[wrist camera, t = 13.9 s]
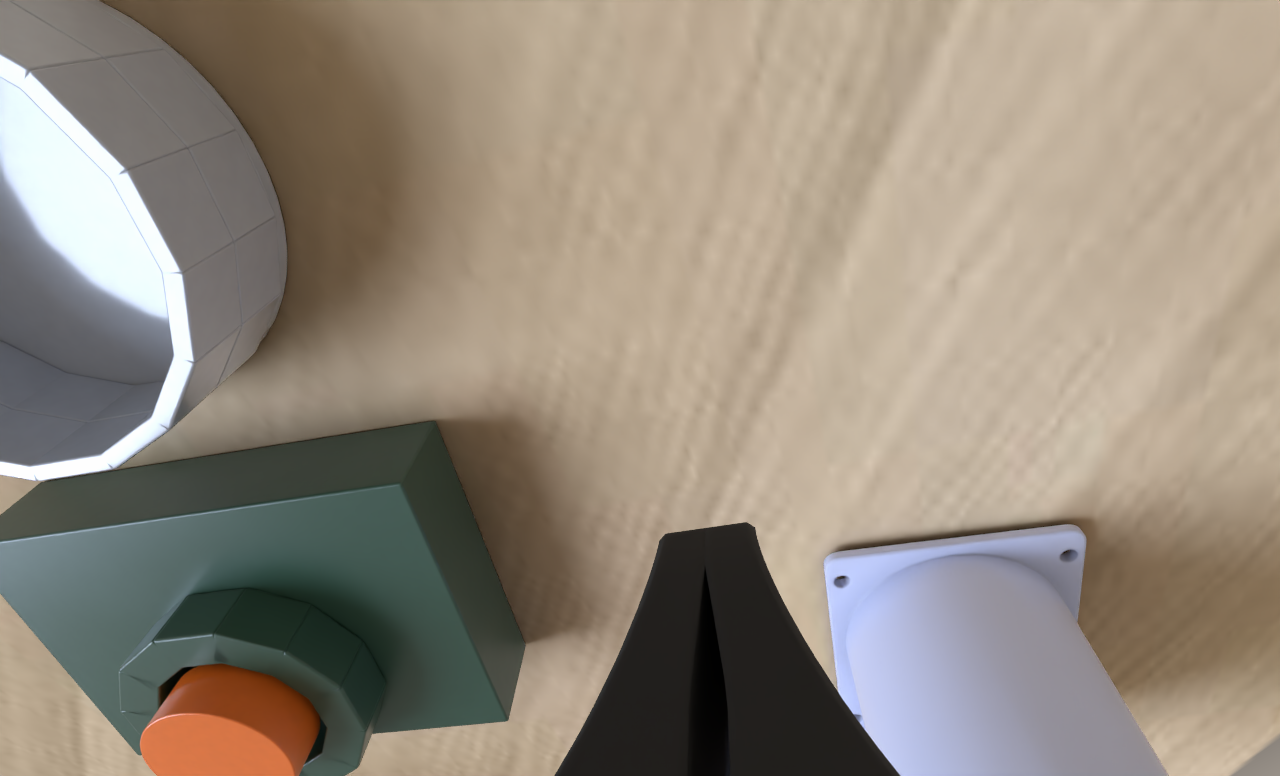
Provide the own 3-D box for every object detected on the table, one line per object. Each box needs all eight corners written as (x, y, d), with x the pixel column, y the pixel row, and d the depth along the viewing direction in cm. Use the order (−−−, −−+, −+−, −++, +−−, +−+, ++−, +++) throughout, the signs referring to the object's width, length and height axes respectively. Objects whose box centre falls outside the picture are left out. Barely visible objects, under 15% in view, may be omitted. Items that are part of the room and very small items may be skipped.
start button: (148, 668, 22) (108, 721, 20) (283, 653, 21) (252, 706, 20) (218, 760, 24) (187, 813, 22) (343, 749, 23) (319, 803, 22)
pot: (351, 356, 22) (276, 445, 18) (28, 412, 23) (-109, 505, 19) (156, -79, 16) (-13, -94, 12) (-244, 32, 18) (-509, 50, 14)
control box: (40, 481, 25) (-98, 592, 20) (435, 419, 23) (377, 527, 18) (191, 684, 29) (105, 808, 25) (527, 648, 27) (498, 776, 23)
